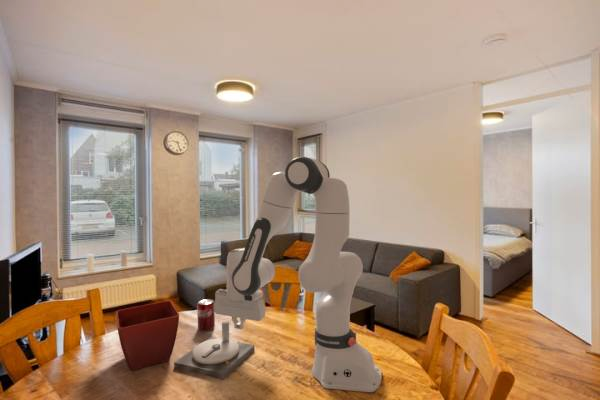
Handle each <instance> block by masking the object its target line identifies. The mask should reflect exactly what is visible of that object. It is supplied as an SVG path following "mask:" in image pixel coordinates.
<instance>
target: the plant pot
mask: <svg viewBox="0 0 600 400" xmlns="http://www.w3.org/2000/svg"><path fill="white" fill-rule="evenodd" d="M115 315H116V325H117V333H118V339H119V343H120V347H121V351H122V353H123V356H124V360H125V363H126V364H127V367H128V370H130V371H136V370H138V369H143V368H145V367H150V366H153V365H156V364H159V363H164V362H167V361H169V360H170V359H171V356H172V354H173V351H174V347H175V345H176V343H175V342H176V340H177V334H178V329H179V323H180V321H179V320H180V313H179V312H178V310H177V308H176V307H175V305H174V304H173V302H172V301H171V300H166V301H165V300H164V301H159V302H154V303H149V304H144V305H138V306H132V307H128V308H123V309H121V308H120V309H118V310H116V311H115Z"/></svg>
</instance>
